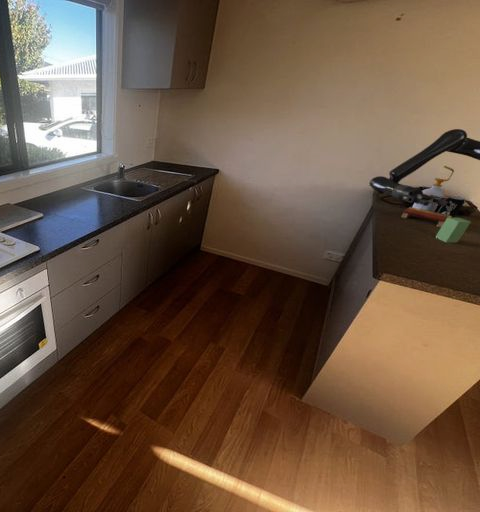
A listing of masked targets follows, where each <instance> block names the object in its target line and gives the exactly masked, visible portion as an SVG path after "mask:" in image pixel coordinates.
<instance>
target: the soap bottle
mask: <svg viewBox="0 0 480 512" xmlns="http://www.w3.org/2000/svg"><path fill="white" fill-rule="evenodd" d="M443 168H444V169H447V170H449V171H451V173H450V175H449V177H448V178H447V179H446V178H445V179H444V178H439V177H438V178H437V177H435V178H434V181H435V182H436V183H433V184H432V185H431V187H429V188H426V189H423V190H422V192H423V194H427V195H434V196H438V197H441V198H444V197H445V193H444V192H443V191H442V190H441V188H442V187H443V185H442V183H444V182H448V181H450V180H451V177H452V176H453V174H454V172H455V169H454V168H452V167H449V166H447V165H444V166H443ZM428 201H429V200H428ZM429 202H430V201H429ZM437 206H438V204H436V203H429V204H428V206H424V205H421V204H416V203H413V205H412V206H411V207H413V208H417V209H422V210H426V211H431V212H436V209H437V208H438V207H437Z"/></svg>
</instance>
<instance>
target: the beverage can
mask: <svg viewBox="0 0 480 512" xmlns="http://www.w3.org/2000/svg"><path fill="white" fill-rule="evenodd" d="M444 200H445V201H448V202H449V203H448V204H447V206H441V207H440V208H439V209H438V211H437V212H436V213H440V214H444V215H449V216H452V218H456V216H457V214H458V213H459V212H460V211H459V210H460V208H461V207H462V206H464V203H465V201H466V198H465V197H462V196H457V195H449V196H448V197H446V198H445V199H444Z"/></svg>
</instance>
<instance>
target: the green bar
mask: <svg viewBox="0 0 480 512" xmlns="http://www.w3.org/2000/svg"><path fill="white" fill-rule="evenodd" d="M471 223H472V222H471V221H469V220H467V219H464V218H461V217H454V218H447V219H446V221H445V222H444V224H443V226H442V227H440V228H439V230H438V232H437V233H436V235H435V237H436V238H435V239H437V238H438V239H437V240H439V241H442V242H444V243H458V242H459V241H460V239H461V238H462V236H463V235H464V233H465V232H466V230H467V229H468V227H469V225H470V224H471Z"/></svg>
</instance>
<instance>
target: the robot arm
mask: <svg viewBox="0 0 480 512" xmlns="http://www.w3.org/2000/svg"><path fill="white" fill-rule="evenodd" d="M446 152H448V153H453V154H457V155H461V156H467V157H469V158H472V159H475V160H477V161H480V140H476V139H474V138H470V137H468V133H467V131H466V130H464V129H461V128H454V129H449V130H448V131H444V132H443V133H442V134H440V136H439V137H438V138H437V139H435V140H434V141H433V142H432V143H431V144H429V145H428V146H427V147H425V148H423V149H422V150H421V151H420V152H418V153H416V154H414V155H413V156H411V157H410V158H407V160H405V161H403V162H402V163H400V164H399V165H397V166H396V167H394V168H393V169H391V170H390V171H388V174H389V177H386V176H382V175H380V176H374V177H373V178H371V179H370V180H369V187H371V189H372V190H373V191H374V192H375V193H376V194H378V195H382V194H385V195H387V196H390V197H392V198H393V199H396V200H399V201H401V202H405V203H407V204H414V203H416V204H421V205H424V206H428V204H429V203H436V204H439V205H442V206H447V204H448V203H449V202H448V201H445V200H446V199H445V198H444V197H443V198H441V197H438V196H434V195H427V194H423V192H422V191H423V190H422V189H421V188H418V187H414V186H411V185H407V184H403V183H400V182H401V181H402V180H403V179H406V178H407V177H408V176H410V175H411V174H413V173H414V172H416V171H417V170H420V168H422V167H423V166H424V165H426V164H427V163H429V162H430V161H433V159H435V158H437V157H438V156H440V155H442V154H444V153H446ZM428 200H429V201H430V202H429V201H428Z"/></svg>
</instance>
